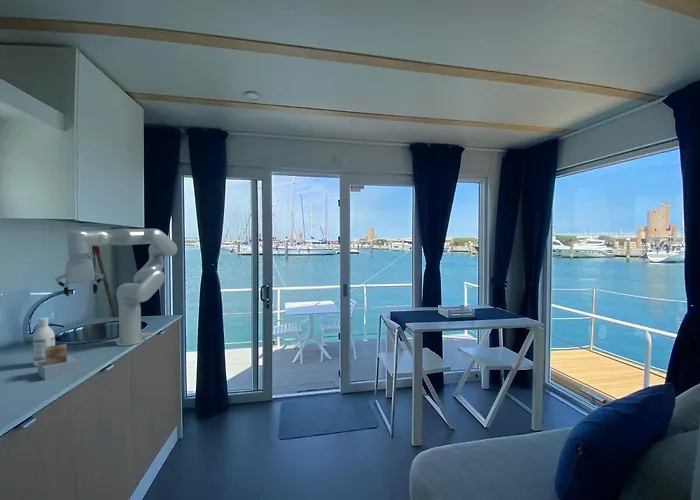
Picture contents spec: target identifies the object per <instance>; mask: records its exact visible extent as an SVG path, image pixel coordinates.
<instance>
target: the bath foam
mask: <svg viewBox="0 0 700 500" xmlns="http://www.w3.org/2000/svg"><path fill="white" fill-rule="evenodd" d="M55 335H56V334H55V331H54V330H53V329H52V328H51V327H50V326H49V318H48V317H42V318H39V319H38V328H37V330H36V331H35V332H34V334H33V337H32V352H33V353H32V354H33V355H32V357H33V358H32V359H33V366H35V367H38V363H39V362H43V361H46V348H47V347H48V346H55V345H56V336H55Z"/></svg>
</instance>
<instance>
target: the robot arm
mask: <svg viewBox="0 0 700 500" xmlns="http://www.w3.org/2000/svg"><path fill="white" fill-rule="evenodd" d="M66 238H67V239H66V241H67V242H66V243H67V256H68V257H67V258H68V259H67V260H66V261H65V272H64V274H61V275H60V276H57V277H55V278H54V280H55V281H56V283H57V284H58V285H59V286H61V287H62V288H63V294H64V295H65V296H66V297H69V296H70V295H69V294H70V293H69V287H68V286H69V285H70V284H75V283H76V284H77V283H86V282H91V283H93V284H92V292H93V294H97V292H98V284H100V282H102V280H103V278H104V277H105V275H104V274H103V273H99V272H97V271H95V269H94V268H95V267H94V264H93V260H92V258H94V257H95V255H94V254H91V253H90V247H102V246H105V245H106V246H107V245H109V246H110V245H111V246H133V245H148V244H149V246H148V255H149V257H148V261H147V262H146V263H145V264H144V265H143V266H142V267H141V268H140V269H139V270H138V271H137V272H136V273H135V274H134V276H133V282H126V283H123V284H121V285H119V286H118V287H117V288H116V293H115V294H116V300H117V303H118V326H119V327H118V329H119V339H118V340H116V341H115V345H116V346H120V347H121V346H122V347H124V346H125V347H126V346H127V347H128V346H133V345H137V344H140V343H143V342H144V341H145V337H146V338H147V337H152V332H151V331H150V332H142V326H141V325H142V321H141V320H142V319H141V318H142V317H141V316H142V315H141V314H142V313H141V311H142V310H141V309H142V308H141V304H140V303H144V302H147V301H149V299H151V298H152V296H153V295H154V294H155V293H156V292H157V291H158V289H160V288H161V286H162V285H163V284H164V282H165V273H164V272H163V271H162V270H163V268H164V266H165V263H164V257H173V256H175V255H176V254H177V253H178V246H177V244H176V242H174V241H173V240H172V239H171V238H170V237H169V236H168V235H167V234H166V233H165V232H164V231H162V230H161V229H158V228H116V229H105V230H104V229H103V230H102V229H100V230H99V229H97V230H96V229H93V230H92V229H90V230H89V229H88V230H87V229H86V230H70V231H68V232H67V233H66ZM96 276H98V278H97V280H95V277H96ZM64 278H65V282H62V281H61V280H62V279H64Z"/></svg>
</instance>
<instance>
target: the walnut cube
mask: <svg viewBox="0 0 700 500" xmlns="http://www.w3.org/2000/svg"><path fill="white" fill-rule="evenodd" d="M67 356H68V354H67V343H62V344H57V345H56V344H55V346H48V347H47V348H46V366H47V365H52V364H58V363H63V362H66V361H67Z"/></svg>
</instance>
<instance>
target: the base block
mask: <svg viewBox="0 0 700 500" xmlns="http://www.w3.org/2000/svg"><path fill="white" fill-rule="evenodd" d="M78 365H79V364H78V360H77V359H76V358H74V357H73V356H71V355H67V361H66V362H63V363H58V364H52V365H47V366H46V361H43V362H39V363H38V366H37V374H38V376H40V377H41V379H43V380H44V381H47V380H52V379H56V378H59V377H63V376H67V375H70V374H73V373H74V374H75V373H77V372H79V369H78V367H79V366H78Z"/></svg>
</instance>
